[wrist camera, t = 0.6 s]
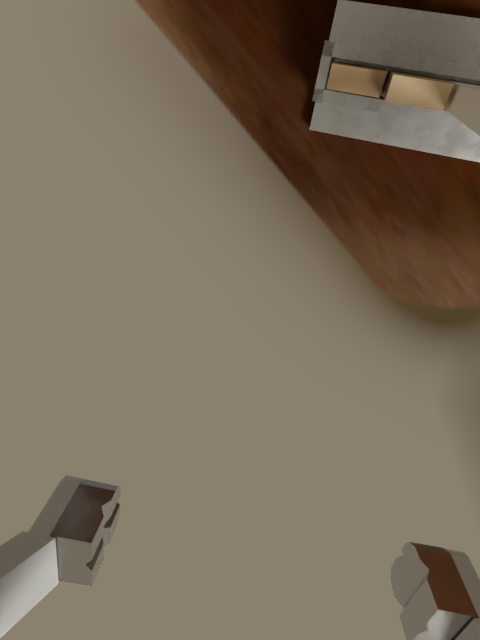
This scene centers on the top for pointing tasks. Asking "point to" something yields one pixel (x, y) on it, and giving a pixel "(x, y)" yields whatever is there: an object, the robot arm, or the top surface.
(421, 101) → the tall offcut
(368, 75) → the short offcut
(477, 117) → the tall panel
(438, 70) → the slot rack
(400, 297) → the top surface
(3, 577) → the robot arm
